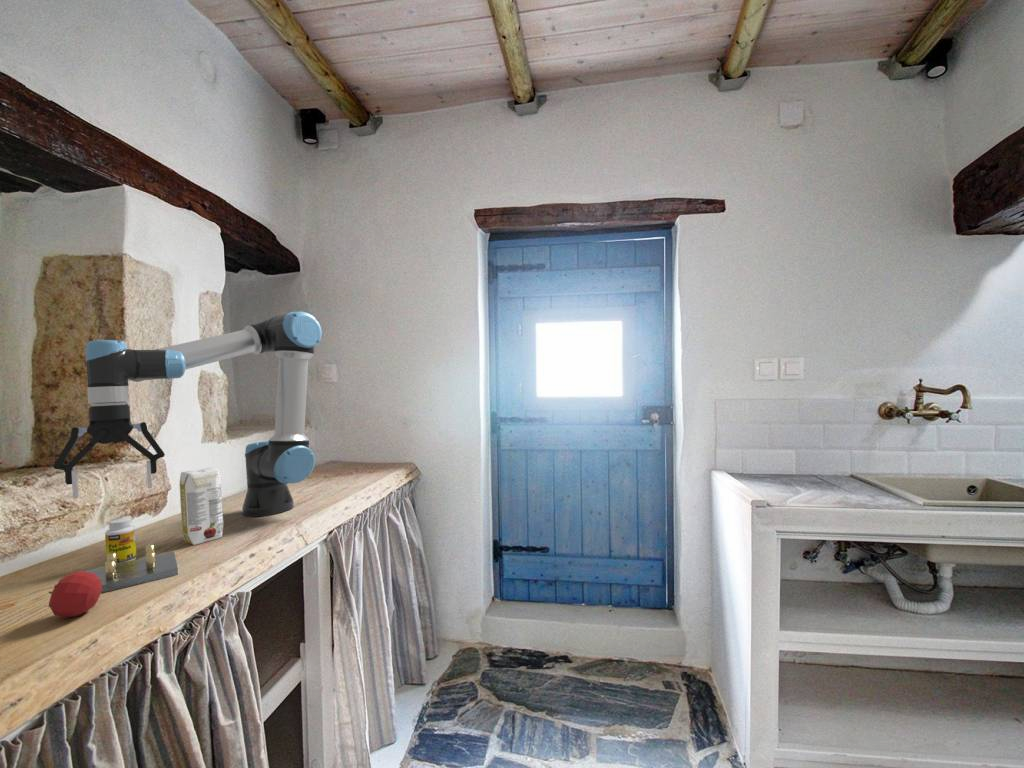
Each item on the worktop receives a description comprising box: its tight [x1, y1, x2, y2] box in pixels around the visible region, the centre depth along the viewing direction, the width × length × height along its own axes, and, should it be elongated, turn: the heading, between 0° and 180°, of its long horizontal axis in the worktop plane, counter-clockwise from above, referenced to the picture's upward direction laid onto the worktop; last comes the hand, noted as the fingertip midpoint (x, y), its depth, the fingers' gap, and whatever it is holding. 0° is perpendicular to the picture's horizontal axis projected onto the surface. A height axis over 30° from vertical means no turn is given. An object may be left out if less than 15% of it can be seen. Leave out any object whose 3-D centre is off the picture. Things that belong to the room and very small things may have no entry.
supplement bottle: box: [104, 517, 137, 564], centre depth 113 cm, size 6×6×10 cm
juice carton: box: [178, 467, 224, 546], centre depth 127 cm, size 8×9×19 cm
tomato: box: [48, 570, 102, 619], centre depth 87 cm, size 8×8×8 cm
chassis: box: [85, 544, 179, 594], centre depth 104 cm, size 16×14×5 cm
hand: (114, 492), depth 113 cm, fingers open, 13 cm apart
